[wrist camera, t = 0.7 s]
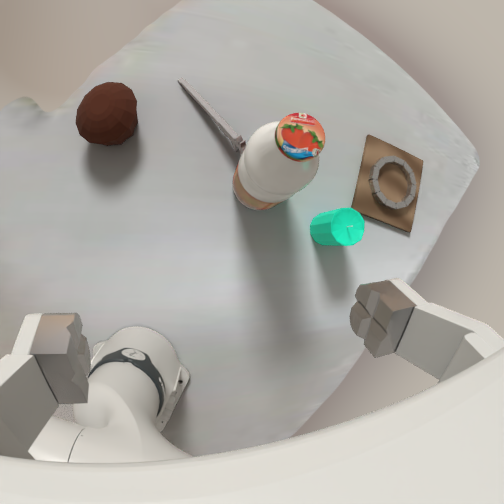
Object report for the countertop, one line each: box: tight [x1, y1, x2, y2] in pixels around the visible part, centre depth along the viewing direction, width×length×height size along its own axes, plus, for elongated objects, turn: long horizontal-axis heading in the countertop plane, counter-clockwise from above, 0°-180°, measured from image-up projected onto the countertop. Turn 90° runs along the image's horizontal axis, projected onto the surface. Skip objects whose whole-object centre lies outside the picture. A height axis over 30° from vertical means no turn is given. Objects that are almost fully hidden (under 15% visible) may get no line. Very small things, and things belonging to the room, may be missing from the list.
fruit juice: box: [233, 113, 325, 210], centre depth 43 cm, size 9×9×28 cm
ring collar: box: [368, 156, 417, 210], centre depth 59 cm, size 10×10×2 cm
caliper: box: [178, 78, 246, 157], centre depth 53 cm, size 20×1×6 cm, turn 38°
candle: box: [310, 208, 364, 246], centre depth 53 cm, size 6×6×12 cm
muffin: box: [76, 82, 138, 146], centre depth 48 cm, size 12×11×10 cm
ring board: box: [351, 135, 423, 232], centre depth 60 cm, size 16×14×1 cm
